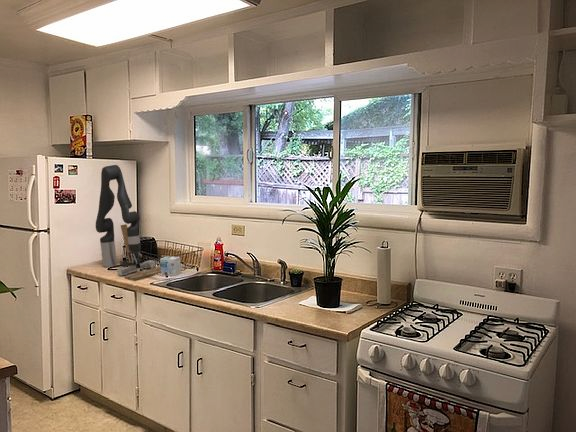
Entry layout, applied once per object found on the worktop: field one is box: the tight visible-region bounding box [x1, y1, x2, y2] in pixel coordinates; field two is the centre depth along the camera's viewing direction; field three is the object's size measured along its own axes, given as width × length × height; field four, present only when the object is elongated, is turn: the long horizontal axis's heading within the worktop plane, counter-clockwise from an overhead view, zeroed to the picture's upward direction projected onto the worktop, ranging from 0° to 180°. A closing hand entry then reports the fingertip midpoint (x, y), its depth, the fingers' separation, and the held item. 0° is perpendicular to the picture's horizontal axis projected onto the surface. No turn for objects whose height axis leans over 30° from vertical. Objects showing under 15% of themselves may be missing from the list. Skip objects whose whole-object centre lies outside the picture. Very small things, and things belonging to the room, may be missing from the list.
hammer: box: [119, 223, 145, 268], centre depth 322 cm, size 20×5×30 cm, turn 54°
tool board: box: [123, 265, 161, 282], centre depth 302 cm, size 12×27×4 cm, turn 140°
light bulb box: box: [159, 256, 182, 277], centre depth 298 cm, size 11×7×11 cm, turn 72°
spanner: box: [116, 259, 157, 276], centre depth 311 cm, size 5×25×4 cm, turn 140°
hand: (136, 268), depth 311 cm, fingers closed on spanner, 3 cm apart
